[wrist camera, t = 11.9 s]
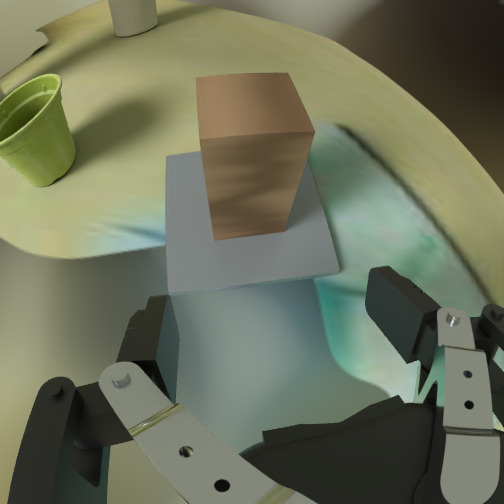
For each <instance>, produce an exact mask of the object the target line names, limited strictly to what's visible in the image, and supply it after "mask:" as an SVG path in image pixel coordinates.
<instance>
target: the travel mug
mask: <svg viewBox="0 0 504 504" xmlns="http://www.w3.org/2000/svg"><path fill="white" fill-rule="evenodd" d="M108 2H109V7H110V12H111V16H112V21H113V25H114V29H115V33H116V35H117V36H133V35H136V34H140V33H143V32H146V31H148V30H150V29H152V28H153V27H154V26H156V25H157V24H158V17H157V10H156V2H155V0H108Z"/></svg>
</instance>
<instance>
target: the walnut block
mask: <svg viewBox="0 0 504 504" xmlns="http://www.w3.org/2000/svg"><path fill="white" fill-rule="evenodd" d="M196 89H197V107H198V123H199V137H200V146H201V154H202V161H203V169H204V176H205V183H206V190H207V197H208V204H209V211H210V217H211V224H212V230H213V237H214V241H216V240H224V239H232V238H240V237H248V236H256V235H264V234H272V233H280V232H284V229H285V226H286V223H287V220H288V217H289V213H290V210H291V207H292V204H293V201H294V198H295V195H296V192H297V189H298V185H299V182H300V179H301V176H302V173H303V169H304V166H305V163H306V160H307V157H308V153H309V150H310V147H311V144H312V140H313V137H314V134H315V130H314V128H313V126H312V123H311V121H310V119H309V116H308V114H307V112H306V110H305V108H304V105H303V103H302V101H301V99H300V97H299V95H298V93H297V91H296V88H295V86H294V84H293V82H292V80H291V78H290V76H289V74H288V73H246V74H230V75H217V76H207V77H198V78H196Z"/></svg>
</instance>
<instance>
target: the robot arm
mask: <svg viewBox="0 0 504 504" xmlns="http://www.w3.org/2000/svg"><path fill="white" fill-rule="evenodd" d="M5 98H6V95H5V93H4V91H3V90H2V88H1V86H0V103H1V102H2V101H3V100H4V99H5ZM365 307H366V311H367V313H368V315H369V316H370V317H371V319H372V320H373V321H374V322H375V324H376V325H377V326H378V327H379V329H380V330H381V331H382V332H383V334H384V335H385V336H386V337H387V339H388V340H389V341H390V342H391V344H392V345H393V346H394V348H395V349H396V350H397V351H398V353H399V354H400V355H401V357H402V358H403V359H404V361H405V362H406V363H407V364H408V363H411V362H414V361H416V360H419V361H420V363H419V366H418V369H417V378H416V387H415V394H414V401H413V403H404V402H403V400H402V399H401V397H400V396H399V395H397V396H394V397H392V398H389V399H387V400H383V401H381V402H378V403H375V404H372V405H369V406H368V407H366V408H365V409H363V410H361V411H360V412H358V413H356V414H355V415H353V416H351V417H349V418H347V419H346V420H344V421H342V422H339V423H328V424H299V425H294V426H289V427H284V428H278V429H273V430H267V431H262V436H263V441H262V442H260V443H257V444H255V445H253V446H251V447H249V448H247V449H245V450H244V451H242V452H241V453H239V454H237V453H236V452H235V451H233V450H232V449H231V448H230V447H228V446H227V445H226V444H225V443H224V442H222V441H221V440H220V439H219V438H218V437H216V436H215V435H214V434H213V433H212V432H211V431H210V430H208V429H207V428H206V427H205V426H204V425H203V424H202V423H201V422H200V421H199V420H198V419H197V418H195V417H194V416H193V415H192V414H191V413H190V412H189V411H188V410H187V409H186V408H185V407H184V406H182V405H181V404H179V403H177V404H176V405H175V402H176V382H177V369H178V355H179V331H178V327H177V323H176V318H175V315H174V311H173V306H172V302H171V298H170V296H169V295H158V296H150V297H149V300H148V303H147V306H146V309H145V310H138V311H137V312H136V313H135V314H134V315H133V316H132V317H131V318H130V321H129V324H128V327H127V330H126V333H125V337H124V339H123V342H122V345H121V348H120V351H119V355H118V358H117V361H116V363H115V364H112V365H110V366H109V367H107V368H106V369H105V370H104V371H103V372H102V373H101V375H100V377H99V381H98V382H95V383H92V384H88V385H84V386H80V387H76V386H75V385H74V383H73V382H72V381H71V380H70V379H69V378H66V377H55V378H52V379H50V380H48V381H47V382H45V383H44V384H43V385H42V386H41V388H40V390H39V392H38V394H37V397H36V400H35V402H34V405H33V408H32V411H31V414H30V416H29V419H28V422H27V426H26V429H25V432H24V435H23V439H22V442H21V445H20V449H19V453H18V456H17V460H16V464H15V468H14V472H13V477H12V482H11V486H10V492H9V497H8V503H7V504H107V485H108V483H107V482H108V468H109V457H110V446H111V445H115V444H119V443H123V442H127V441H131V440H134V441H135V442H136V443H137V445H138V446H139V447H140V449H141V450H142V451H143V452H144V454H145V455H146V456H147V458H148V459H149V460H150V461H151V463H152V464H153V465H154V466H155V467H156V469H157V470H158V471H159V472H160V473H161V474H162V476H163V477H164V478H165V479H166V480H167V481H168V483H169V484H170V485H171V486H172V487H173V488H174V489H175V490H176V491H177V492H178V493H179V495H180V496H181V497H182V498H183V499H184V500H185V501H186V502H187V503H188V504H504V432H503V431H500V430H497V429H494V428H493V414H492V411H493V413H494V414H495V415H496V417H497V418H498V420H499V421H500V423H501V424H502V426H503V427H504V372H503V371H502V370H501V368H500V367H499V366H498V365H497V364H496V363H495V361H494V360H493V358H494V356H495V354H496V352H497V350H498V348H499V347H500V348H501V349H502V350H503V351H504V308H502V307H500V306H498V305H494V304H489V305H486V306H484V308H483V310H482V313H481V316H480V317H470V318H469V316H468V315H467V313H465V312H464V311H463V310H461V309H459V308H456V307H451V306H446V307H441V306H440V305H438V304H437V303H436V302H435V301H434V300H433V299H432V298H430V297H429V296H428V295H427V294H426V293H425V292H424V293H423V291H422V290H421V289H420V288H419V287H417V285H415V284H414V283H413V282H412V281H411V280H409V279H407V278H405V277H403V276H401V275H399V274H398V273H397V272H396V271H394V270H393V269H392V268H391V267H390V266H382V267H376V268H372V269H371V270H370V272H369V277H368V285H367V292H366V299H365Z"/></svg>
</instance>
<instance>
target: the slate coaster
mask: <svg viewBox="0 0 504 504" xmlns="http://www.w3.org/2000/svg"><path fill="white" fill-rule="evenodd" d="M166 257H167V278H168V293H169V294H170V295H171V296H174V295H183V294H193V293H201V292H211V291H219V290H227V289H235V288H243V287H251V286H259V285H267V284H274V283H281V282H289V281H296V280H303V279H310V278H316V277H323V276H330V275H336V274H338V273H339V272H340V268H339V264H338V260H337V256H336V253H335V249H334V245H333V241H332V238H331V234H330V230H329V227H328V223H327V220H326V216H325V213H324V210H323V206H322V203H321V200H320V196H319V193H318V190H317V187H316V184H315V180H314V177H313V174H312V171H311V168H310V165H309V162H308V159H307V160H306V163H305V166H304V169H303V173H302V176H301V179H300V182H299V185H298V189H297V192H296V195H295V198H294V201H293V204H292V207H291V210H290V213H289V217H288V220H287V223H286V226H285V229H284V232H280V233H272V234H264V235H256V236H248V237H240V238H232V239H224V240H216V241H214V237H213V230H212V224H211V217H210V211H209V204H208V197H207V190H206V183H205V176H204V169H203V161H202V154H201V151H200V152H192V153H184V154H177V155H170V156H166Z"/></svg>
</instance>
